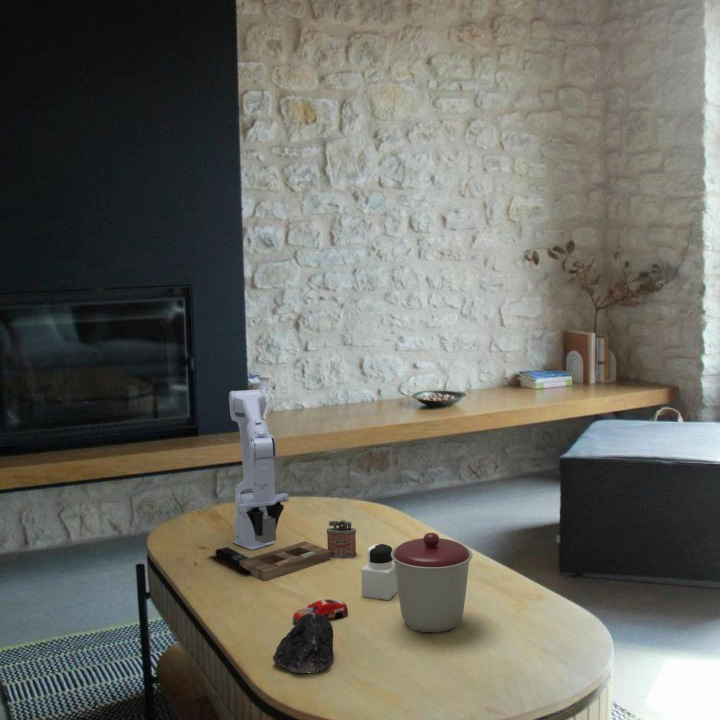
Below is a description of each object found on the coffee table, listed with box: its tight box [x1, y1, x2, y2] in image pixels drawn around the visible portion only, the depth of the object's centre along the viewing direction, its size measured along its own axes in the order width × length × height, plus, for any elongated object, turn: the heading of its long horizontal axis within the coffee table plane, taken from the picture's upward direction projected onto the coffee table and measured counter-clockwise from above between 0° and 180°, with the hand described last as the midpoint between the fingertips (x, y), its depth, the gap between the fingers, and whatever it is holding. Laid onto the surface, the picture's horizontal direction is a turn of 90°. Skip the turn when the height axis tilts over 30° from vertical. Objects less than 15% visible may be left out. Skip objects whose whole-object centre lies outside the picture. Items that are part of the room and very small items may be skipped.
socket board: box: [239, 541, 332, 582], centre depth 253 cm, size 11×22×3 cm, turn 132°
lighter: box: [326, 519, 358, 559], centre depth 258 cm, size 8×3×10 cm, turn 84°
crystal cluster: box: [272, 613, 335, 674], centre depth 196 cm, size 13×14×10 cm
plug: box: [254, 515, 277, 544], centre depth 250 cm, size 4×4×6 cm
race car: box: [292, 598, 349, 625], centre depth 217 cm, size 13×5×4 cm, turn 117°
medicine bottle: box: [360, 543, 398, 601], centre depth 231 cm, size 7×7×12 cm
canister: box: [391, 532, 473, 634], centre depth 212 cm, size 18×18×21 cm
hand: (265, 533), depth 250 cm, fingers closed on plug, 4 cm apart
